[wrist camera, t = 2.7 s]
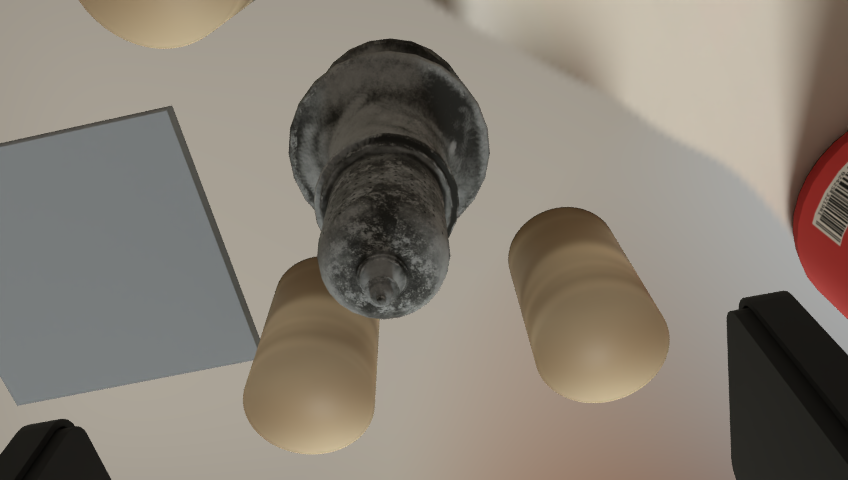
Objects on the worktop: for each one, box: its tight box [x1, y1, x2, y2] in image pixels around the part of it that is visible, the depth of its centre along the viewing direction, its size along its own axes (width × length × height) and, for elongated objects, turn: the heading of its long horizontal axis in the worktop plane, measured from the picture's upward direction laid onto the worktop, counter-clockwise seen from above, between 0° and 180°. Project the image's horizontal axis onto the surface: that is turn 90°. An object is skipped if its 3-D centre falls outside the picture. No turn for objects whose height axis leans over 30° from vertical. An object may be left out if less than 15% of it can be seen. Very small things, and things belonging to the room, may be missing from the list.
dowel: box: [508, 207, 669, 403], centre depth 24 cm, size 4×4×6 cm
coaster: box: [0, 106, 260, 405], centre depth 26 cm, size 10×10×1 cm
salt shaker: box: [289, 39, 490, 319], centre depth 19 cm, size 6×6×12 cm
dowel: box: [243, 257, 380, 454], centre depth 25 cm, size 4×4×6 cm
